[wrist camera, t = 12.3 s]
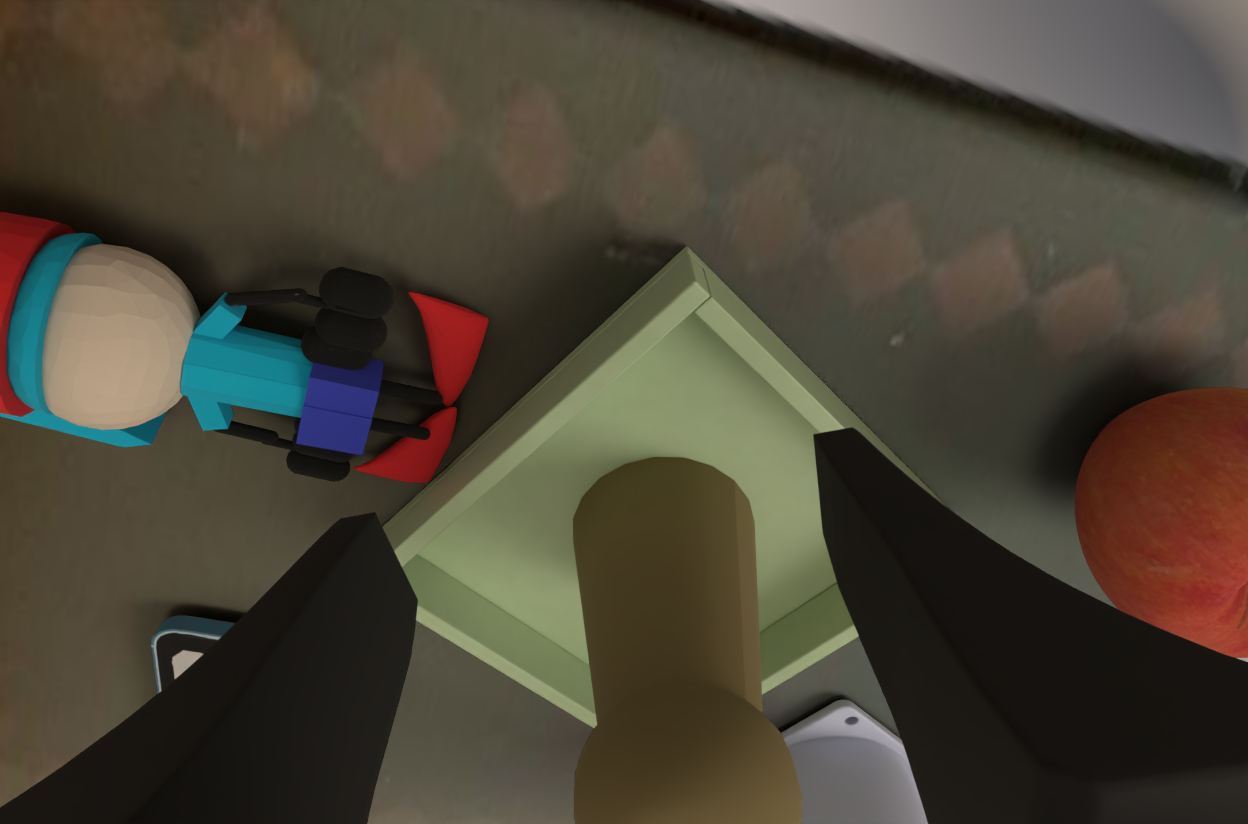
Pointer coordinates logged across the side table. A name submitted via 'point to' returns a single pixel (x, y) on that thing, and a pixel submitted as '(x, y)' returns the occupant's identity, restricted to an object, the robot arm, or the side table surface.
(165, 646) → the smartphone
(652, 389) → the spice tray
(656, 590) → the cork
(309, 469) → the toy figure
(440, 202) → the side table surface
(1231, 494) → the apple
